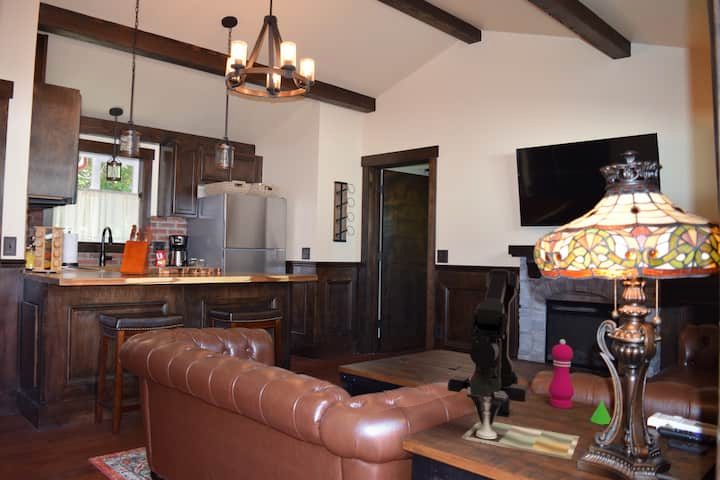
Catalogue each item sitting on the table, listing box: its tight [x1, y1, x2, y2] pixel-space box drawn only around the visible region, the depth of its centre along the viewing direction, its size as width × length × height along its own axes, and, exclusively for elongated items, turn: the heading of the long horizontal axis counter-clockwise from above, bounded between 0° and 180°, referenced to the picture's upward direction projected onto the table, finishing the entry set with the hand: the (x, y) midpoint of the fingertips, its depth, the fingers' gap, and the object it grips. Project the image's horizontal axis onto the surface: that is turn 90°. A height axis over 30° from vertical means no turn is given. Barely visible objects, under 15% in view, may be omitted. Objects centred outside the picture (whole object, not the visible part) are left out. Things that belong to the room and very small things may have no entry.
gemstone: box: [590, 400, 612, 425], centre depth 151 cm, size 6×6×6 cm
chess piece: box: [475, 397, 498, 440], centre depth 134 cm, size 5×5×10 cm
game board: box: [461, 420, 580, 460], centre depth 133 cm, size 17×24×1 cm
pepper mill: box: [548, 338, 575, 409], centre depth 166 cm, size 7×7×20 cm
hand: (486, 424), depth 134 cm, fingers closed on chess piece
